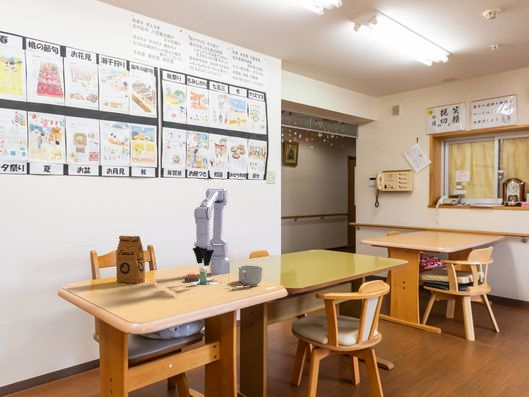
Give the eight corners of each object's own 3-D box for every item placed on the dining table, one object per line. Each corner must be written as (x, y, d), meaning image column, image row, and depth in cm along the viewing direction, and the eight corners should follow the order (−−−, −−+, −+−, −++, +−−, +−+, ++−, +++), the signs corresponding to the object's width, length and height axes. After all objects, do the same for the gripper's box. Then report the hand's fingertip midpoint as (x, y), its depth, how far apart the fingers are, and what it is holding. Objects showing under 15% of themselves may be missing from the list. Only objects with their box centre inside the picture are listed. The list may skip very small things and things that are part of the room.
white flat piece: (209, 279, 187) (209, 273, 187) (224, 285, 174) (224, 279, 174) (183, 283, 179) (183, 277, 179) (197, 289, 167) (197, 283, 167)
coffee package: (135, 285, 176) (134, 237, 175) (113, 283, 180) (112, 236, 180) (148, 281, 185) (148, 234, 185) (127, 279, 189) (127, 234, 189)
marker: (205, 282, 175) (204, 266, 175) (208, 283, 172) (208, 267, 172) (198, 283, 173) (198, 267, 173) (201, 284, 170) (201, 268, 170)
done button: (193, 277, 180) (193, 273, 180) (195, 278, 178) (195, 274, 178) (187, 278, 179) (187, 274, 179) (189, 279, 176) (189, 275, 176)
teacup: (248, 281, 184) (248, 264, 184) (267, 283, 177) (267, 266, 177) (229, 286, 172) (229, 268, 172) (248, 290, 166) (248, 271, 166)
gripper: (188, 233, 176) (188, 263, 176) (201, 235, 164) (201, 267, 164) (202, 232, 180) (202, 261, 180) (216, 234, 168) (216, 266, 168)
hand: (203, 264), depth 172 cm, fingers open, 7 cm apart
